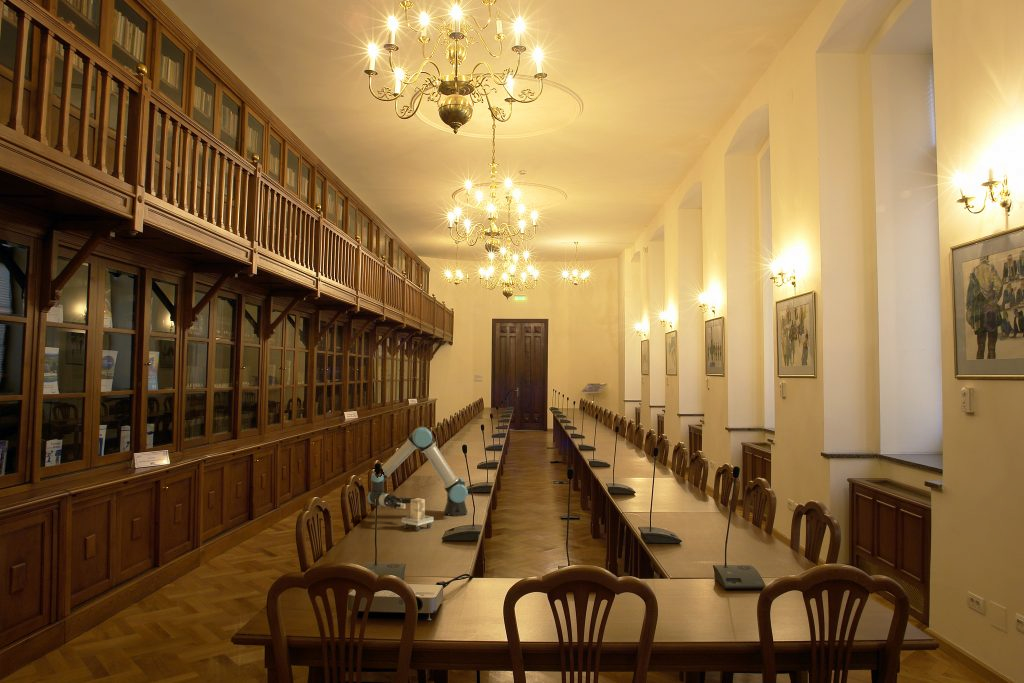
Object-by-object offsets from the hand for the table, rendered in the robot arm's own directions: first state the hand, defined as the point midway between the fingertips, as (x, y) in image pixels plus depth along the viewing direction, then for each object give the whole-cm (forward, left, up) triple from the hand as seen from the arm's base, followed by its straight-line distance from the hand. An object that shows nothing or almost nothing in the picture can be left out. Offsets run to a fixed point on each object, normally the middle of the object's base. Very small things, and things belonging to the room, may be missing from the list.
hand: (413, 504), depth 397 cm
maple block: (0, +4, -9) cm, 9 cm away
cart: (0, +4, -14) cm, 14 cm away
